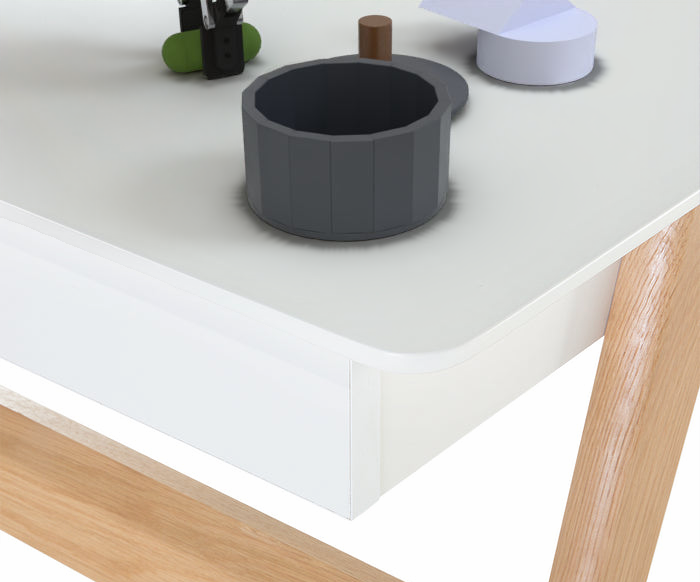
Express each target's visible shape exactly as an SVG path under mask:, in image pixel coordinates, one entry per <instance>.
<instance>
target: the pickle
mask: <svg viewBox="0 0 700 582" xmlns="http://www.w3.org/2000/svg"><path fill="white" fill-rule="evenodd" d="M242 32H243V49H244V63H245V62H248V61H251V60H253V59H254V58H255V57H257V55H258V54H259V53H260V50H261V48H262V37H261V36H262V35H261V33H260V31H259V30H258V29H257V28H256V26H254V25H252V24H251V23H249V22H244V21H243V24H242ZM161 57H162V58H161V59H162V60H163V63H164V64H165V65H166V66H167V67H168V69H170V70H171V71H173V72H175V73H179V74H185V73H190V72H196V71H203V65H202V53H201V40H200V29H197V30H192V31H186V32H176V33H173V34H171V35H169V36H168V37H167V38H166V39H165V40H164V42H163V44H162V47H161Z"/></svg>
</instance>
